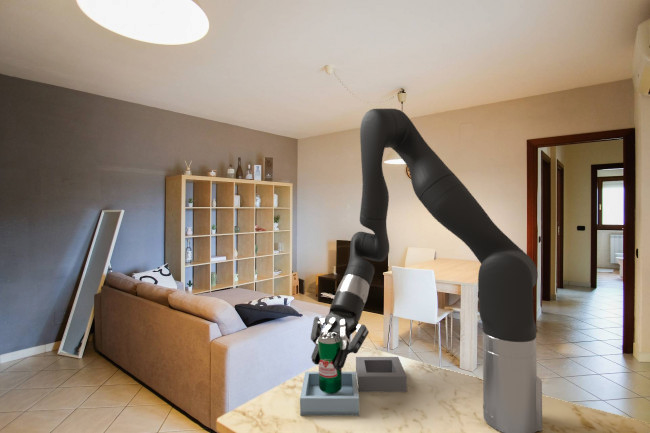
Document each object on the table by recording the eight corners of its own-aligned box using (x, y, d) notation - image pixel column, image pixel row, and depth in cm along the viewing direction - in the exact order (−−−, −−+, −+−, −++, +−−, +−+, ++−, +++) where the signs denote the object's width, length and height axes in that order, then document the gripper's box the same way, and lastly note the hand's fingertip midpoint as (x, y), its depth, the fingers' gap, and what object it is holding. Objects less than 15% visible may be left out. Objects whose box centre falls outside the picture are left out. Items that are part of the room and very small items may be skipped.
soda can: (315, 392, 76) (314, 337, 76) (324, 382, 81) (323, 330, 80) (337, 397, 74) (335, 340, 74) (345, 385, 79) (344, 332, 78)
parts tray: (355, 386, 83) (355, 371, 83) (359, 415, 71) (359, 398, 71) (305, 386, 83) (305, 371, 83) (300, 415, 71) (300, 398, 71)
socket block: (398, 370, 91) (398, 356, 91) (406, 391, 80) (406, 376, 80) (356, 370, 91) (355, 356, 91) (358, 391, 80) (358, 376, 80)
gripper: (319, 286, 87) (291, 351, 77) (372, 292, 80) (348, 365, 69) (331, 302, 92) (305, 366, 82) (382, 310, 84) (361, 380, 74)
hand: (325, 365), depth 76 cm, fingers closed on soda can, 5 cm apart
